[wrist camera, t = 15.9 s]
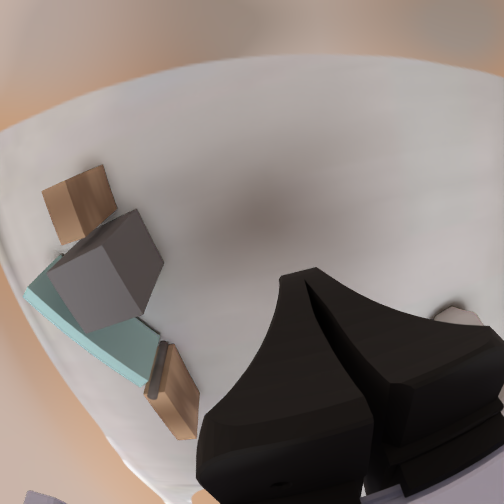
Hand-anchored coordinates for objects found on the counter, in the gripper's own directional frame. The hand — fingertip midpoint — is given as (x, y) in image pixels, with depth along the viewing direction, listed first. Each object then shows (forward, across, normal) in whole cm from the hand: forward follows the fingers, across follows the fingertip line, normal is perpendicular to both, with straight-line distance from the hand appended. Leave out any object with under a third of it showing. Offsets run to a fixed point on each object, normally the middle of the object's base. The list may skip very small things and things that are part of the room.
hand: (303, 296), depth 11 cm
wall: (+9, +10, +4) cm, 14 cm away
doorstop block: (+10, +10, 0) cm, 14 cm away
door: (+9, +13, +3) cm, 16 cm away
